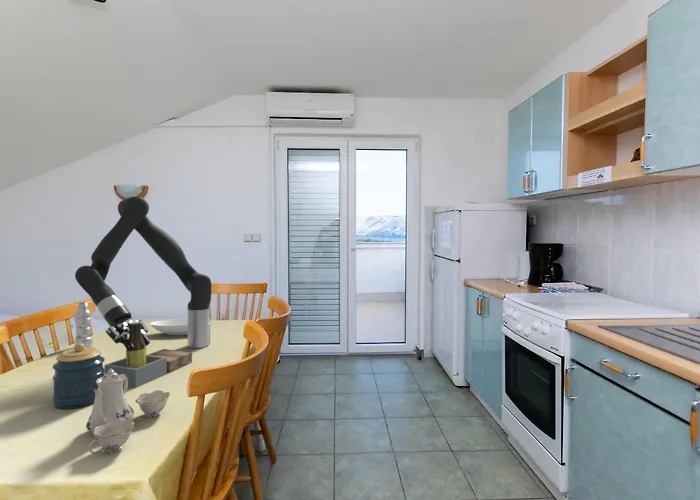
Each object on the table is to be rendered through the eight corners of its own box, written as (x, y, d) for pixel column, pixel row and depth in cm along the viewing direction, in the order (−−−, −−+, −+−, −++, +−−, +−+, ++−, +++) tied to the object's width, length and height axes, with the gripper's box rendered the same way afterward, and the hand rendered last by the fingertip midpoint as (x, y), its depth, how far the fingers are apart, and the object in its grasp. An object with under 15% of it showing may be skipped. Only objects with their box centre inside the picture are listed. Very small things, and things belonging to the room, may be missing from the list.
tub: (137, 369, 144) (137, 353, 144) (166, 373, 140) (166, 357, 140) (104, 382, 131) (104, 365, 131) (135, 387, 127) (135, 369, 127)
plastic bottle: (83, 350, 166) (83, 304, 165) (70, 349, 167) (70, 303, 166) (96, 346, 172) (95, 302, 171) (83, 345, 174) (83, 301, 173)
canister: (48, 413, 108) (47, 352, 107) (58, 396, 119) (57, 340, 119) (102, 404, 114) (102, 346, 113) (107, 389, 125) (106, 336, 125)
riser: (163, 358, 157) (163, 348, 157) (191, 362, 153) (191, 352, 152) (139, 368, 145) (139, 357, 145) (169, 372, 141) (169, 361, 141)
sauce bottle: (150, 376, 137) (150, 321, 136) (134, 382, 131) (134, 325, 130) (138, 373, 140) (138, 319, 139) (122, 379, 134) (121, 323, 133)
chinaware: (125, 467, 87) (133, 395, 86) (48, 462, 85) (56, 389, 85) (173, 410, 114) (179, 356, 114) (116, 406, 113) (121, 351, 113)
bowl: (214, 328, 207) (214, 317, 207) (211, 335, 193) (211, 323, 193) (153, 331, 200) (153, 320, 199) (146, 339, 185) (146, 326, 185)
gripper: (101, 307, 130) (128, 345, 127) (136, 301, 144) (162, 335, 141) (89, 322, 132) (116, 359, 129) (125, 314, 145) (150, 347, 142)
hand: (140, 346), depth 135 cm, fingers closed on sauce bottle, 6 cm apart
